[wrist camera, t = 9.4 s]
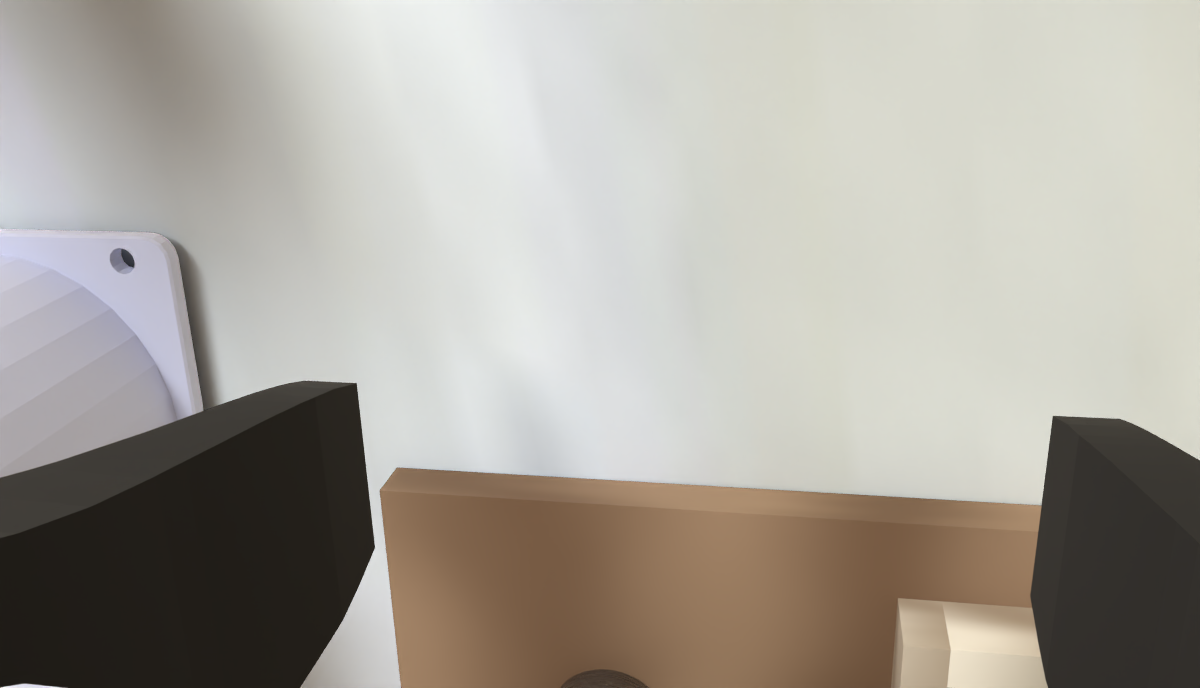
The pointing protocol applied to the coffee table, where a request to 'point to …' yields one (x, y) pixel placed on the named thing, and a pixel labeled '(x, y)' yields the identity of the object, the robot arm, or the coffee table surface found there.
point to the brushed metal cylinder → (603, 680)
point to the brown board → (704, 585)
